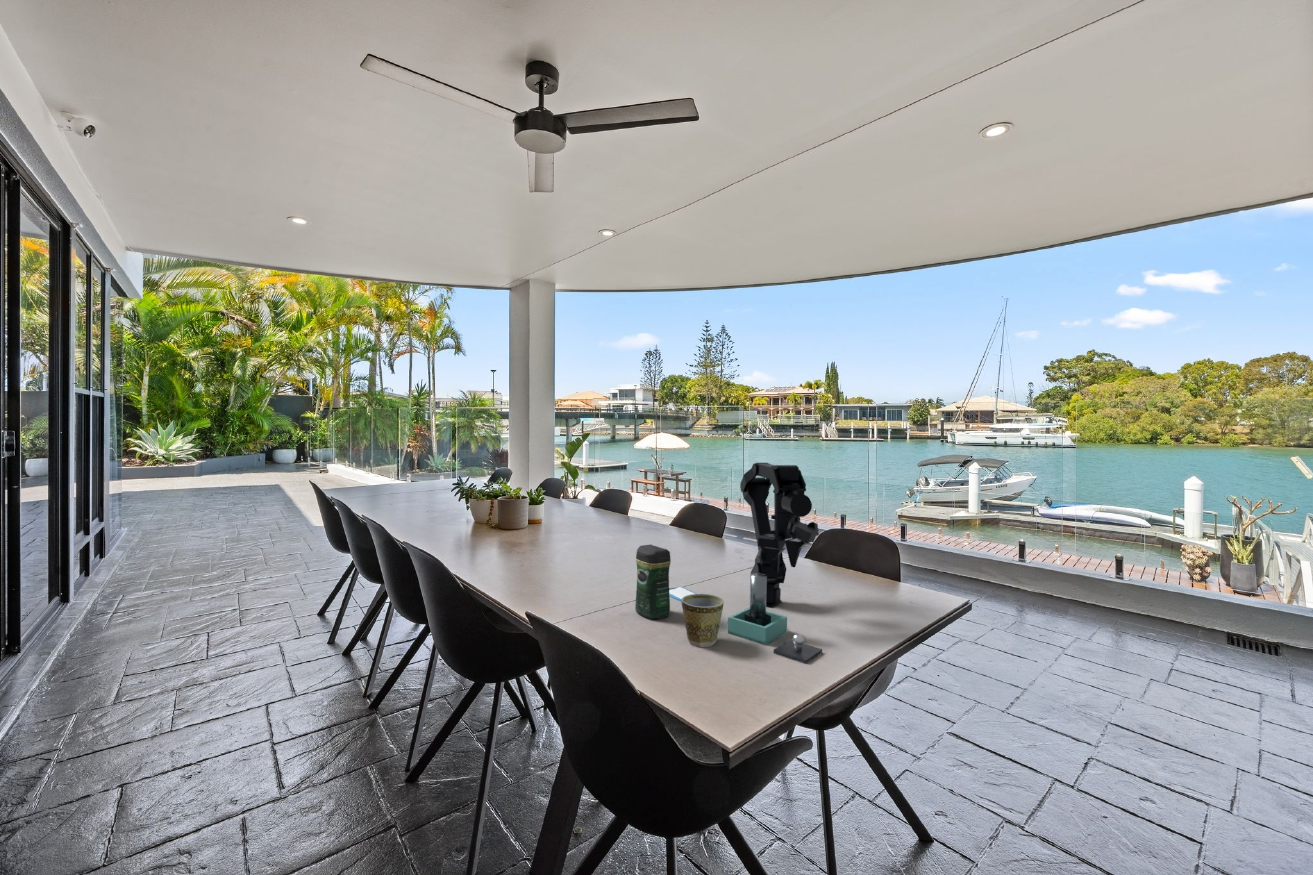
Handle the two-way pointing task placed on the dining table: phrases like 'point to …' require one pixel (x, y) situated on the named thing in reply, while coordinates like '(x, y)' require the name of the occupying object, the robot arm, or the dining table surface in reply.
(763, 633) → the bin
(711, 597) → the ceramic cup
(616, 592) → the dining table surface
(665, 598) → the coffee jar
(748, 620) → the strut
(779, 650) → the stud base
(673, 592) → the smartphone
